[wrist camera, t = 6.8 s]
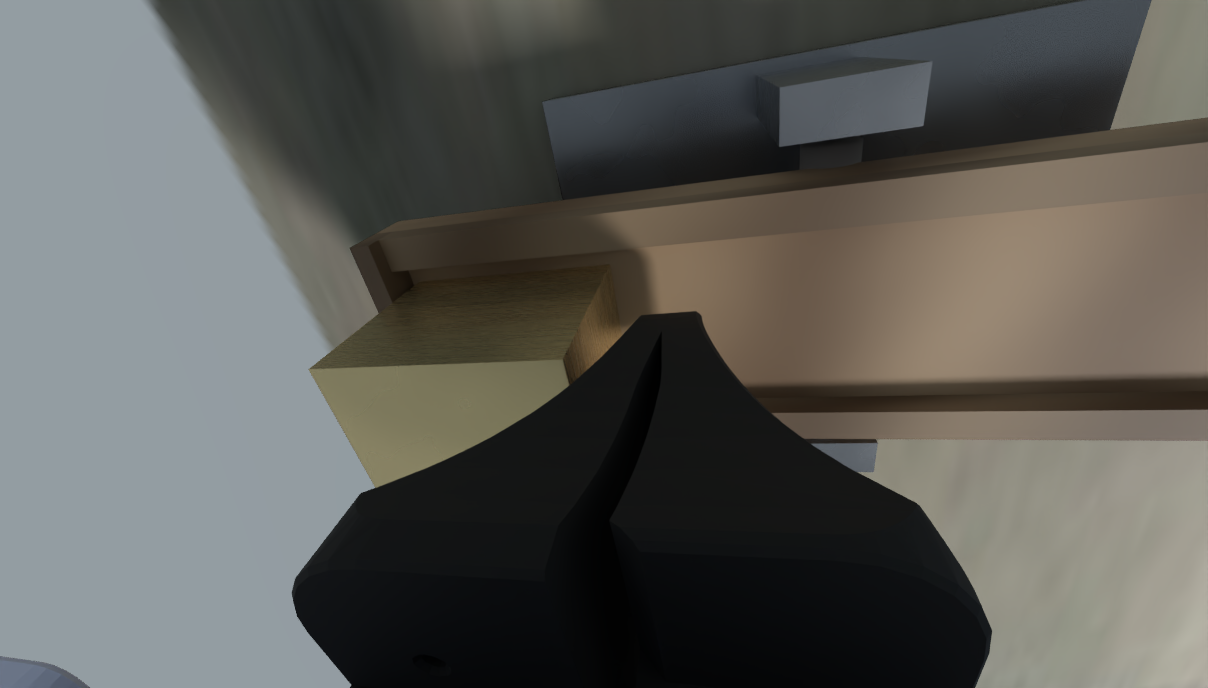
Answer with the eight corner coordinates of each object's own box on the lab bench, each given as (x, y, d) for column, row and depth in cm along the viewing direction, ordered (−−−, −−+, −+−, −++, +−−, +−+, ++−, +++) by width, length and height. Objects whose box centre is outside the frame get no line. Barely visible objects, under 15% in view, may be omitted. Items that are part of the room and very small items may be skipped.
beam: (1519, 38, 8) (1889, 35, 5) (1297, 378, 11) (1462, 473, 9) (412, 196, 13) (342, 231, 11) (484, 394, 17) (443, 456, 14)
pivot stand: (1018, 359, 16) (1143, 482, 11) (606, 376, 19) (575, 477, 15) (1128, -10, 11) (1424, -49, 6) (549, 99, 14) (478, 122, 10)
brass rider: (631, 391, 13) (601, 513, 9) (464, 394, 14) (384, 503, 11) (609, 264, 11) (562, 359, 8) (419, 281, 12) (308, 369, 9)
